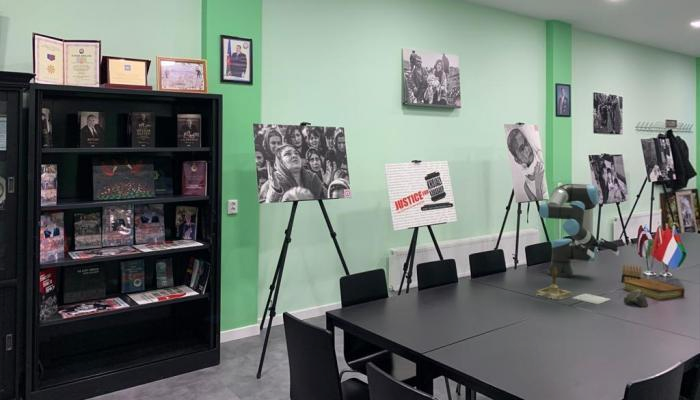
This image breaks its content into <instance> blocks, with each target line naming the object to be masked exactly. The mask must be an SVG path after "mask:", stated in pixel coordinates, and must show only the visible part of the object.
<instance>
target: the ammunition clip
mask: <svg viewBox="0 0 700 400" xmlns="http://www.w3.org/2000/svg"><path fill="white" fill-rule="evenodd" d="M637 279H642V265H640V264H639V265H638V264H636V266H635V264H633V266H632V264H631V263H630V264H629V263H625V262H624V263H623V265H622V273H621V281H620V283H623V281H628V280H637ZM623 284H624V283H623Z"/></svg>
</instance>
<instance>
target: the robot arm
mask: <svg viewBox="0 0 700 400" xmlns="http://www.w3.org/2000/svg"><path fill="white" fill-rule="evenodd" d="M599 202H600V197H599V189H598V186H597V185H596V184H590V183H587V184H585V183H584V184H583V183H566V184H562V185H559V186H558V187H556V188H554V189H553V190H552V192H551V193H550V198H549V200H548V201H547V203H542V204H540V205H539V213H538V215H539V217H540V218H543V219H552V220H553V219H556V220H565V221H564V223H563V224H562V229H563V231H564V232H565V233H566V234H567V235H569V236H570V237H572V238H573V239H574V241H573V240H572V238H558V239H553V241H552V243H551V259H550V260H551V261H550V262H551V263H550V264H549V267H548V271H547V274H548V275H549V276H552V271H553V268H554V267H556V269H557V277H558V278H572V277H574V270H573V266H572V261H578V262H579V261H581V262H591V263H593V262H595V261H596V259H597V255H598V254H597V253H598V249H600V248H601V249H607V250H610V251H611V252H612V253H613V254H614V255H616V256H617V257H619V256H620V251H619V250H618V244H617V243H614V242H612V241H609V240H606V239H604V238H603V237H602V238H600V239H596V237H595V236H594V235H593V234H594V209H595V208H596V207H597V205H599ZM565 204H568V205H565ZM557 277H556V278H557Z"/></svg>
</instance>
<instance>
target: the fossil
mask: <svg viewBox="0 0 700 400" xmlns="http://www.w3.org/2000/svg"><path fill="white" fill-rule="evenodd" d="M623 303H624V304H626V305H631V304H634V303H635V304H637V305H638V306H640V307H641V308H643V307H644V308H645V307H648V304H649V303H648V300H647V298H646V296H644V294H643V292H642V290H639V289H637V290H635V291H631V292H629V293H627V295H626V296H624V298H623Z"/></svg>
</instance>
